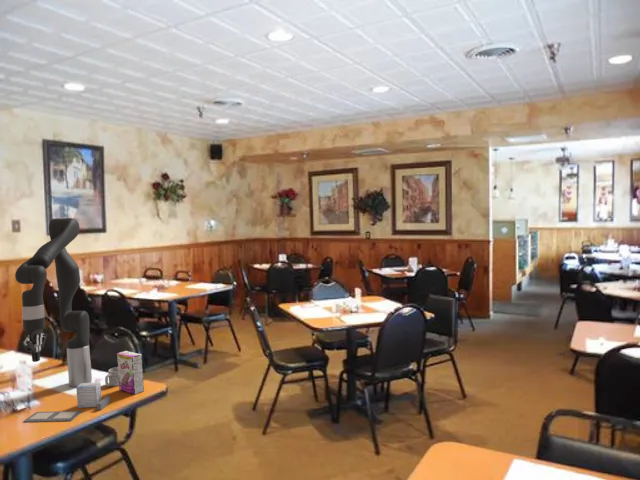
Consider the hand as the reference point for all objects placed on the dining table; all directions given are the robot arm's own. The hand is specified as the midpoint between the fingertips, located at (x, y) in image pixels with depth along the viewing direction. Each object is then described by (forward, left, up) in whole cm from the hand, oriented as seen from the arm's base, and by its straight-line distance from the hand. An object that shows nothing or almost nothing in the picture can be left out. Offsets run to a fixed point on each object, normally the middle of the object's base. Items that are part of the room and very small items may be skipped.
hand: (36, 361), depth 193 cm
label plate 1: (+5, +4, -20) cm, 21 cm away
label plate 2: (+5, +13, -20) cm, 25 cm away
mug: (-28, +17, -21) cm, 39 cm away
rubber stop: (-4, +23, -20) cm, 31 cm away
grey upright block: (-5, +17, -21) cm, 27 cm away
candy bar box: (-20, +28, -20) cm, 40 cm away
